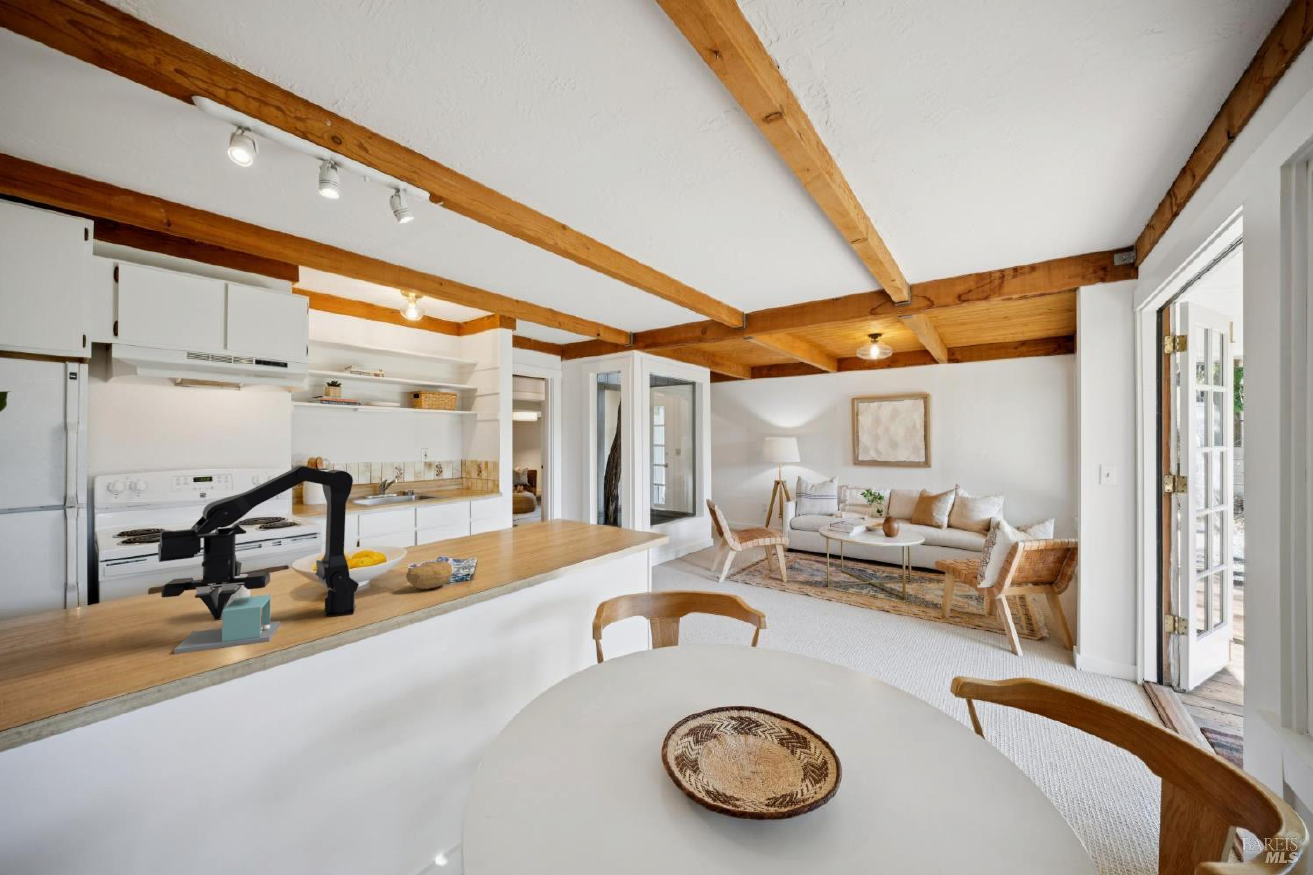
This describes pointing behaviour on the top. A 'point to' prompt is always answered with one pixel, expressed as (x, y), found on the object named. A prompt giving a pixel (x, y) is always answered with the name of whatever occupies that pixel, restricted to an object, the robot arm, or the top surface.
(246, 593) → the white cup
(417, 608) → the top surface
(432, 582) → the potato
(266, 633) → the base plate
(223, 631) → the housing cover
